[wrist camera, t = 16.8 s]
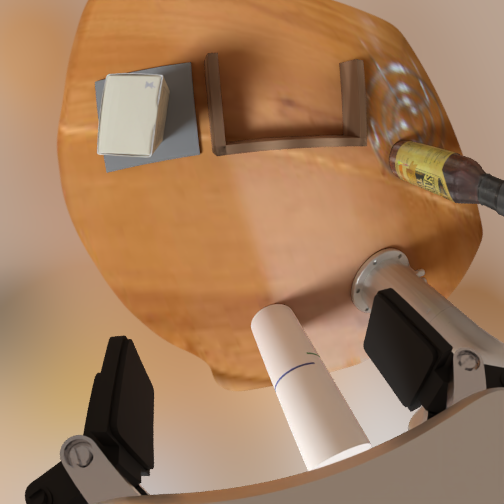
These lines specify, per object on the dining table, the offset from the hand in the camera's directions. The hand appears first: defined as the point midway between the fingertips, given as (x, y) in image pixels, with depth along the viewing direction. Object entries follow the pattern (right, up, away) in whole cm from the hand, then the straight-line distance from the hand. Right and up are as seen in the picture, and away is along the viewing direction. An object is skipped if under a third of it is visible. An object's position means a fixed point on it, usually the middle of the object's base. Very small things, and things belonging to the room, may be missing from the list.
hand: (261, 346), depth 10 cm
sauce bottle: (+22, +18, +27) cm, 39 cm away
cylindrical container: (+3, -8, +34) cm, 35 cm away
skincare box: (-12, +18, +17) cm, 28 cm away
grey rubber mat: (-12, +18, +17) cm, 28 cm away
